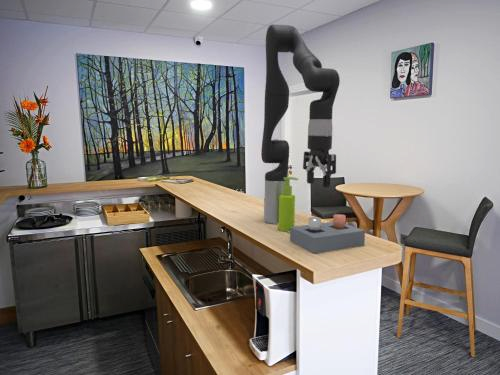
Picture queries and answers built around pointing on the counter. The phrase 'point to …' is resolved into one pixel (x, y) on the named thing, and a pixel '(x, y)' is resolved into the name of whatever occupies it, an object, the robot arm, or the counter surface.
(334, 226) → the terracotta plug
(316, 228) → the steel plug
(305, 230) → the plug board
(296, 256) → the counter surface
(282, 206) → the soap dispenser
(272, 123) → the robot arm
